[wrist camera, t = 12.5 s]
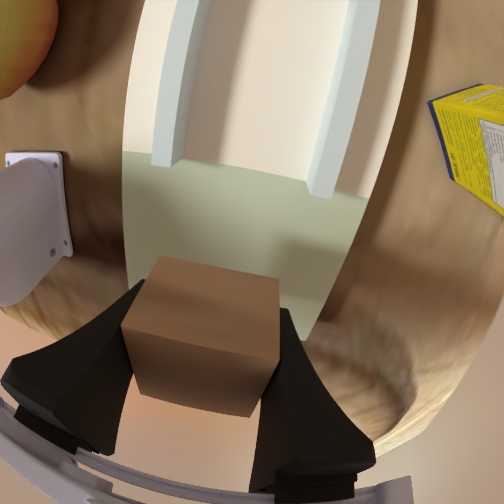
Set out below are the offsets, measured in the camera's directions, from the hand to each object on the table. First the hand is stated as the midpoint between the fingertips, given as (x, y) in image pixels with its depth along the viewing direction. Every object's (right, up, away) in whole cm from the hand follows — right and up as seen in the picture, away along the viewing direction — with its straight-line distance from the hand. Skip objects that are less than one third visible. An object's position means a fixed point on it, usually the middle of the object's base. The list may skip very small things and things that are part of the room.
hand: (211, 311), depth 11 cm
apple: (-15, +19, -1) cm, 25 cm away
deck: (+2, +11, +2) cm, 12 cm away
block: (0, 0, +1) cm, 1 cm away
